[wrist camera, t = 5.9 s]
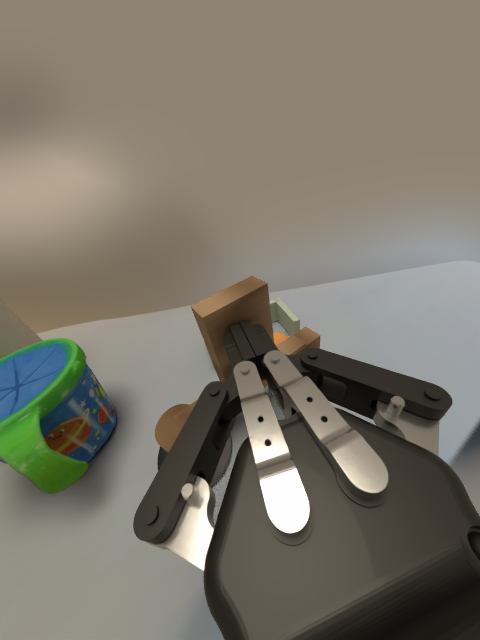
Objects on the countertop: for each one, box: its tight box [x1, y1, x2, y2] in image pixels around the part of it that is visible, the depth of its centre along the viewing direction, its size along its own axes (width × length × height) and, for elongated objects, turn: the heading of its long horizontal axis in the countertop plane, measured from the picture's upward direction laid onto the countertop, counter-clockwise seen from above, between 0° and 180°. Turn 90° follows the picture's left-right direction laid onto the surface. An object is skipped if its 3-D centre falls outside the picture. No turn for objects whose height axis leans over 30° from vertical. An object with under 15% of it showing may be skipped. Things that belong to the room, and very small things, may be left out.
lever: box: [155, 276, 320, 453], centre depth 19 cm, size 18×4×14 cm, turn 124°
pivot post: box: [158, 435, 232, 487], centre depth 20 cm, size 7×7×3 cm
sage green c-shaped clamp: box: [269, 298, 300, 336], centre depth 30 cm, size 12×6×4 cm, turn 108°
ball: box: [273, 332, 289, 346], centre depth 26 cm, size 4×4×4 cm
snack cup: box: [0, 338, 116, 493], centre depth 21 cm, size 16×10×10 cm
